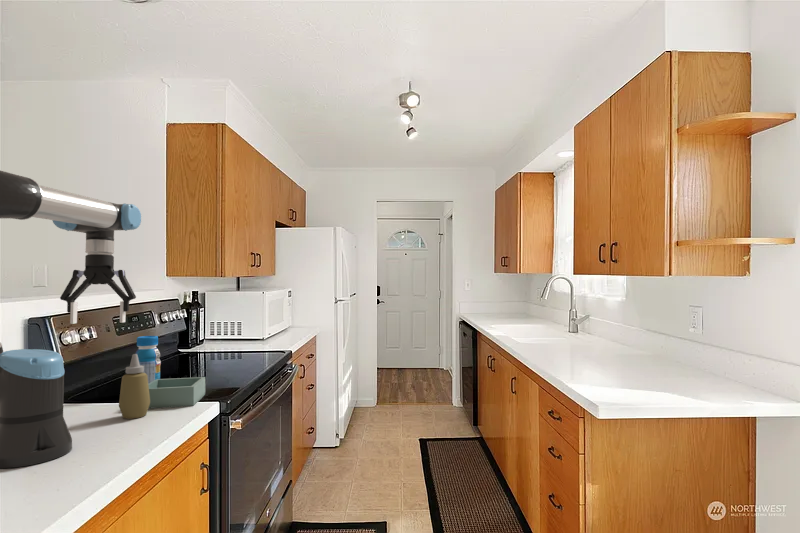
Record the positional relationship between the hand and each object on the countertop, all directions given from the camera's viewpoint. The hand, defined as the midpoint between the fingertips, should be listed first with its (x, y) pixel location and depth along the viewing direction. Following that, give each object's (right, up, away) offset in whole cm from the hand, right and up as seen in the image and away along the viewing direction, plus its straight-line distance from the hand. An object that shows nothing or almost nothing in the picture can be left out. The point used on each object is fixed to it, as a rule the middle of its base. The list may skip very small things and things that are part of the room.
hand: (98, 323), depth 147 cm
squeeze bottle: (+16, -26, -9) cm, 32 cm away
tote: (+19, -27, +9) cm, 34 cm away
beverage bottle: (+4, -28, +21) cm, 35 cm away
